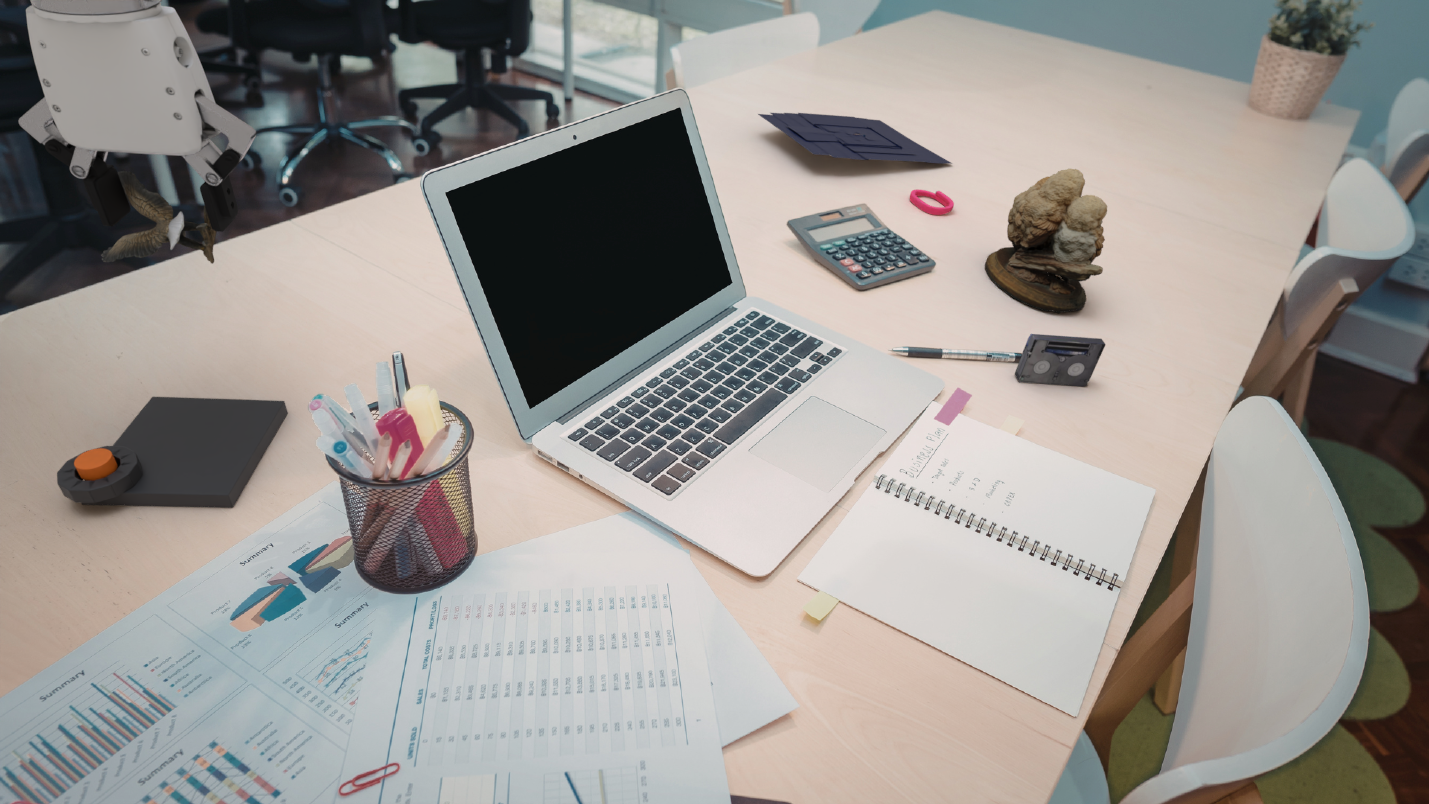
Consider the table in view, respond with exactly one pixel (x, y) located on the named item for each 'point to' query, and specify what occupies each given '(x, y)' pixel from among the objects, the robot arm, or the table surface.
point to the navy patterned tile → (850, 137)
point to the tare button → (95, 464)
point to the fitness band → (937, 196)
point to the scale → (182, 454)
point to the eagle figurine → (163, 231)
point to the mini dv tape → (1059, 360)
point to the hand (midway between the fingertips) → (171, 220)
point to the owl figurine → (1051, 244)
